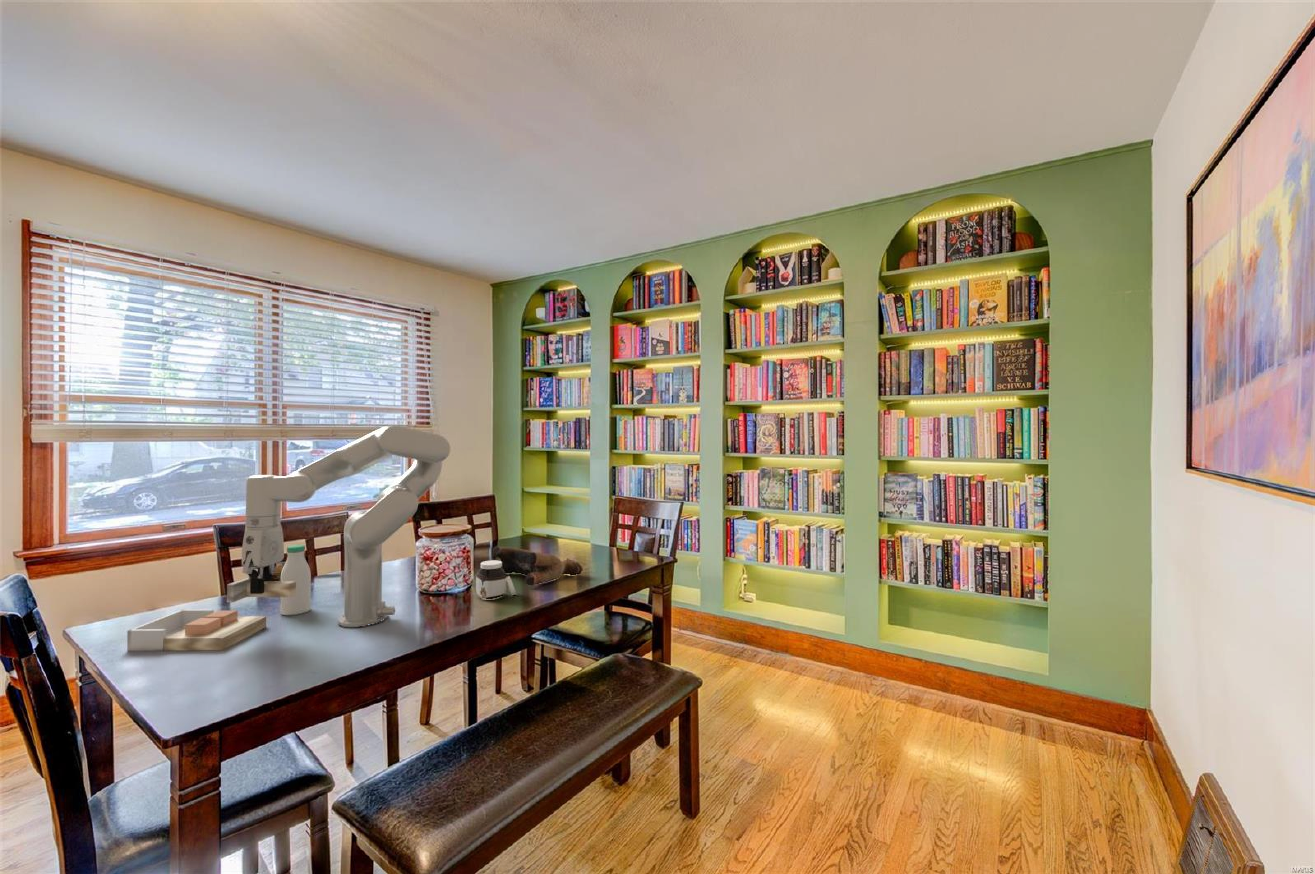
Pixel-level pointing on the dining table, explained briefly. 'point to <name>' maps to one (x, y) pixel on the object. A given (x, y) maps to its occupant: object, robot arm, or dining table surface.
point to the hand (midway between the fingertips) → (261, 591)
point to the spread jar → (492, 580)
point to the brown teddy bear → (535, 564)
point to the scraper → (270, 589)
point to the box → (161, 630)
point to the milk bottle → (301, 574)
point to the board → (217, 635)
